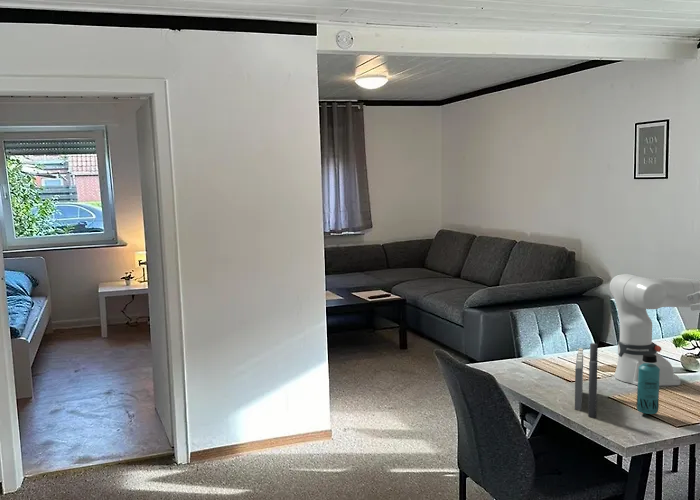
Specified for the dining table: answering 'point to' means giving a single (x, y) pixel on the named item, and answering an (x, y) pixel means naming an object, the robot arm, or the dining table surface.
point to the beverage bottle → (648, 385)
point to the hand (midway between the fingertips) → (688, 302)
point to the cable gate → (593, 381)
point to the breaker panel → (579, 380)
